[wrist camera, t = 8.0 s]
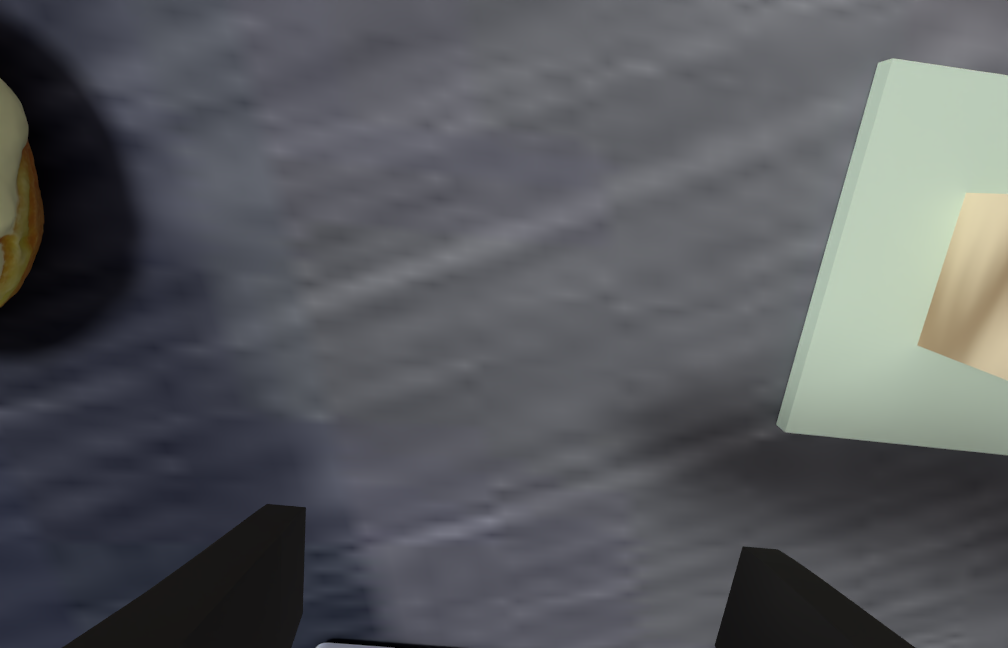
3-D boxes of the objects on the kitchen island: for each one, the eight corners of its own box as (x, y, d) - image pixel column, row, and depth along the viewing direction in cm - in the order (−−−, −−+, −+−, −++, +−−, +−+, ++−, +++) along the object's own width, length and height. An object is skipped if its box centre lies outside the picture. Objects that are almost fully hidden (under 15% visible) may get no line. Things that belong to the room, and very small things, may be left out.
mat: (1084, 456, 20) (1103, 464, 19) (776, 424, 19) (785, 432, 18) (1240, 116, 17) (1267, 114, 16) (878, 62, 16) (892, 58, 15)
